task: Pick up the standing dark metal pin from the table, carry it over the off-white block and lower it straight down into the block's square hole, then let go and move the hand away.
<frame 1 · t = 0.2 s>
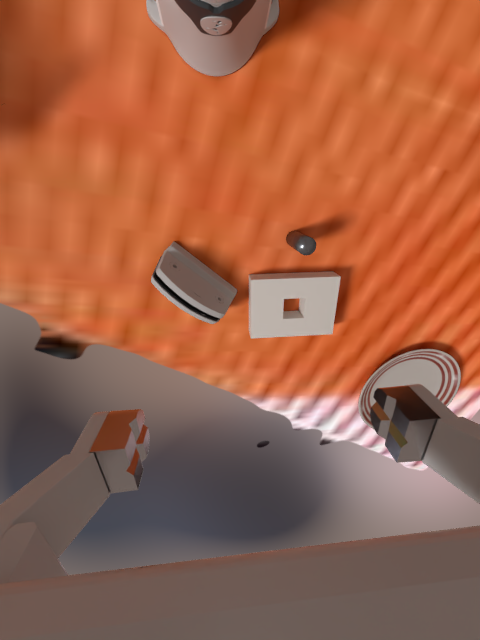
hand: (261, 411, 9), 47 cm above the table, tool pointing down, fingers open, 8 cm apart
knuckle block: (289, 301, 59), on the table
pin: (293, 238, 54), on the table
grey curved slotted block: (196, 280, 56), on the table
dinner plate: (402, 386, 73), on the table
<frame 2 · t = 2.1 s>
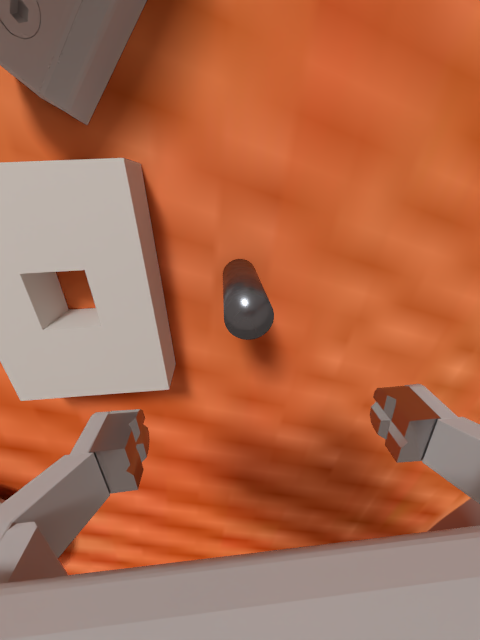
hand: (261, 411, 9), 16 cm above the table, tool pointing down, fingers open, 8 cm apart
knuckle block: (86, 284, 24), on the table
pin: (239, 275, 24), on the table
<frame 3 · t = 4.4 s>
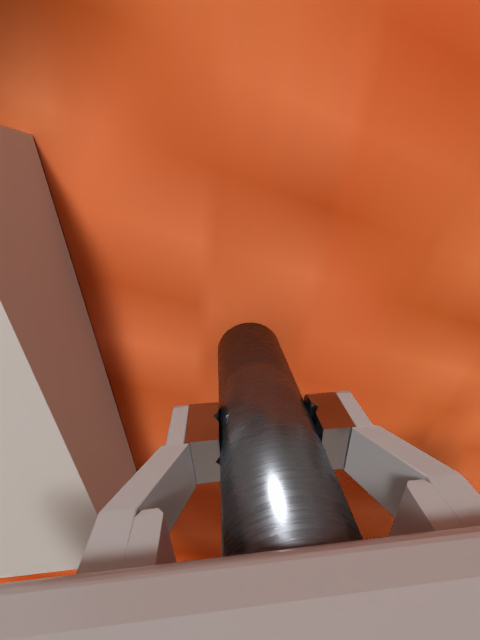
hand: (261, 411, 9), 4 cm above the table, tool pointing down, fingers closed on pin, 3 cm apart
pin: (248, 350, 13), on the table, touching gripper
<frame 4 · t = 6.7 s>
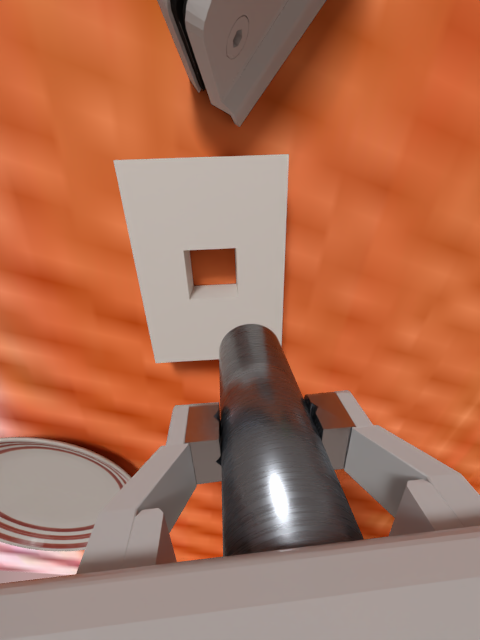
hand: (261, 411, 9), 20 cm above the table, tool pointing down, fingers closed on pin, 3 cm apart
knuckle block: (213, 263, 27), on the table
pin: (249, 351, 13), point 16 cm above the table, touching gripper
dinner plate: (58, 482, 41), on the table
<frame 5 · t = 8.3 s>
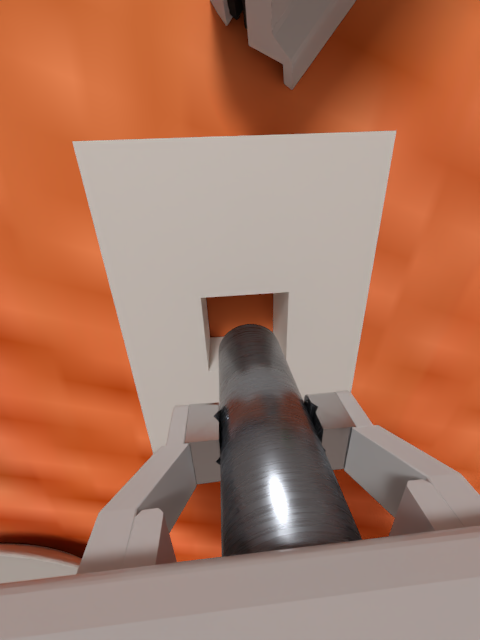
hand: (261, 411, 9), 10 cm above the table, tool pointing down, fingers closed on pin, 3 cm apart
knuckle block: (240, 306, 18), on the table
pin: (249, 351, 13), point 6 cm above the table, touching gripper
dinner plate: (25, 581, 31), on the table
when the fingers open (6 cm above the table, at t = 9.2 s): pin drops 2 cm, resting in knuckle block.
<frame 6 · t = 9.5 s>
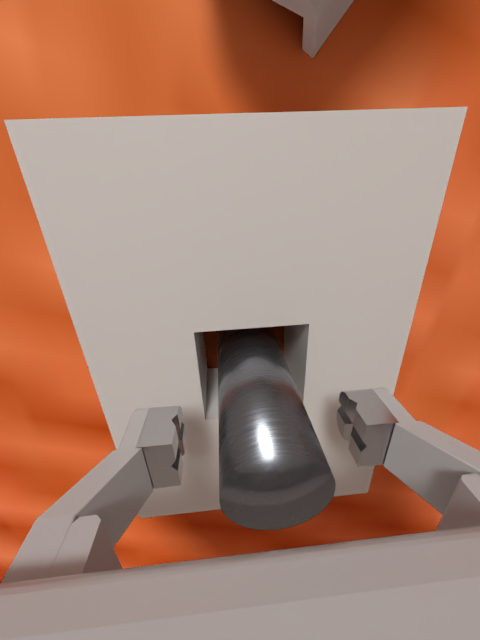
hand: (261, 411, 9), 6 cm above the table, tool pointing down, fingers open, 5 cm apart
knuckle block: (244, 331, 15), on the table
pin: (244, 332, 15), resting in knuckle block
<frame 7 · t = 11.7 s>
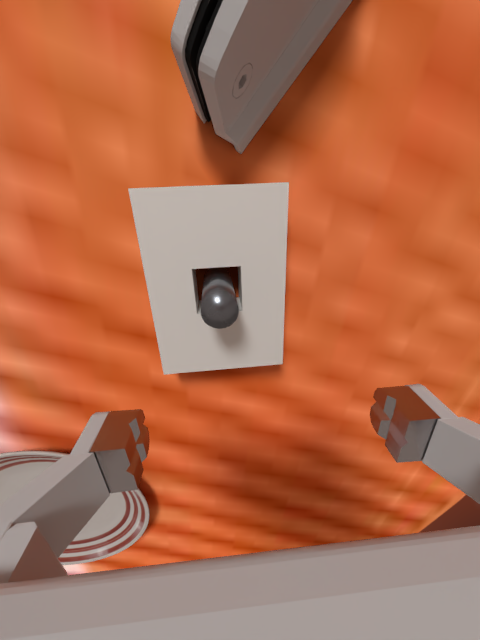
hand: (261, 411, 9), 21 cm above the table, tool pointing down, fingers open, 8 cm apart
knuckle block: (217, 279, 29), on the table
pin: (217, 279, 29), resting in knuckle block
grey curved slotted block: (267, 30, 21), on the table
dinner plate: (62, 495, 42), on the table
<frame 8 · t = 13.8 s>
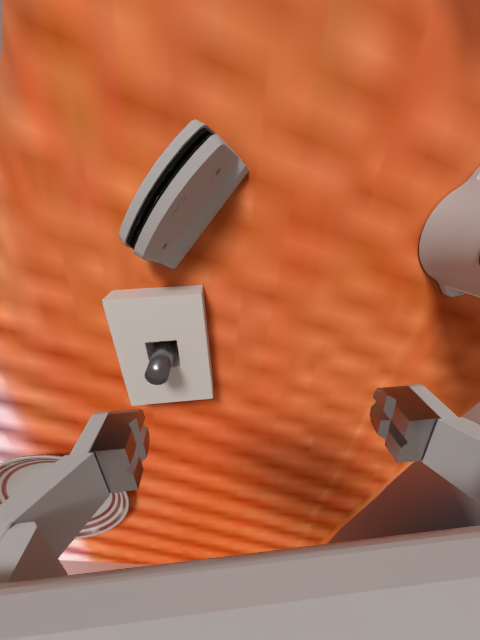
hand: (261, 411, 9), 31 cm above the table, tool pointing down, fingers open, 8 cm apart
knuckle block: (167, 341, 43), on the table
pin: (167, 341, 43), resting in knuckle block
grey curved slotted block: (186, 202, 35), on the table
dinner plate: (64, 487, 56), on the table
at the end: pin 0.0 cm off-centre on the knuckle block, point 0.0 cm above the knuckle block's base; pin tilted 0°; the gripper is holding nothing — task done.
